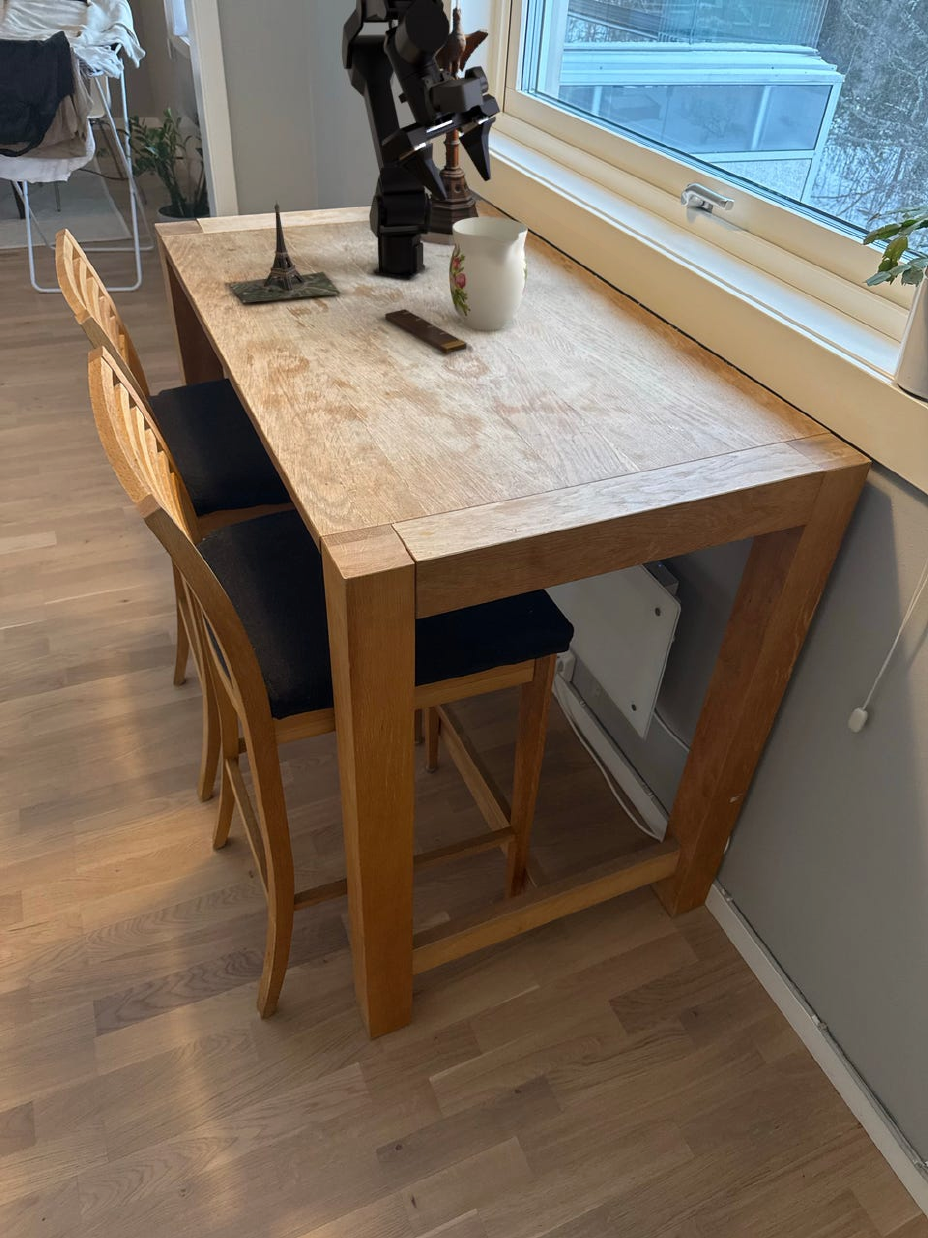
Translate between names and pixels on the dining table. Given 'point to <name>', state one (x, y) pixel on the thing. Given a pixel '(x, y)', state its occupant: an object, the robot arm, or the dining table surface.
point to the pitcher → (488, 271)
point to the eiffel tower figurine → (284, 278)
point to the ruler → (426, 331)
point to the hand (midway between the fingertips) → (466, 190)
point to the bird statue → (453, 143)
